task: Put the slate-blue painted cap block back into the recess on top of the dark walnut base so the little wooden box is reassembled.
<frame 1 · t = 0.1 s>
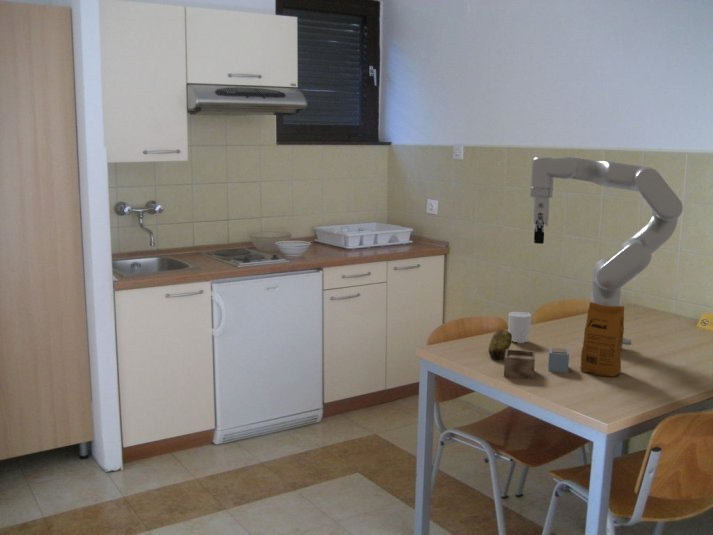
hand: (538, 241, 262), 37 cm above the table, tool pointing down, fingers open, 9 cm apart
coffee package: (600, 372, 236), on the table
white cup: (518, 341, 270), on the table
cap block: (557, 369, 238), on the table
potato: (499, 355, 252), on the table
box base: (519, 373, 233), on the table
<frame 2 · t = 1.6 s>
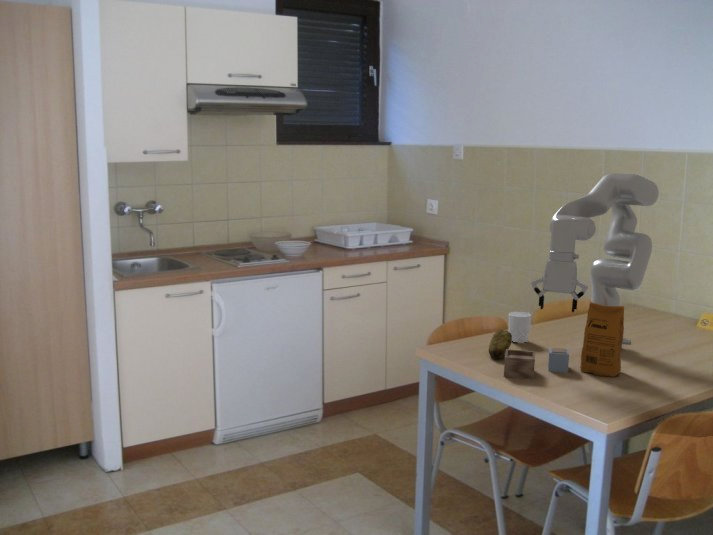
hand: (557, 310, 237), 19 cm above the table, tool pointing down, fingers open, 9 cm apart
nothing on the table moved.
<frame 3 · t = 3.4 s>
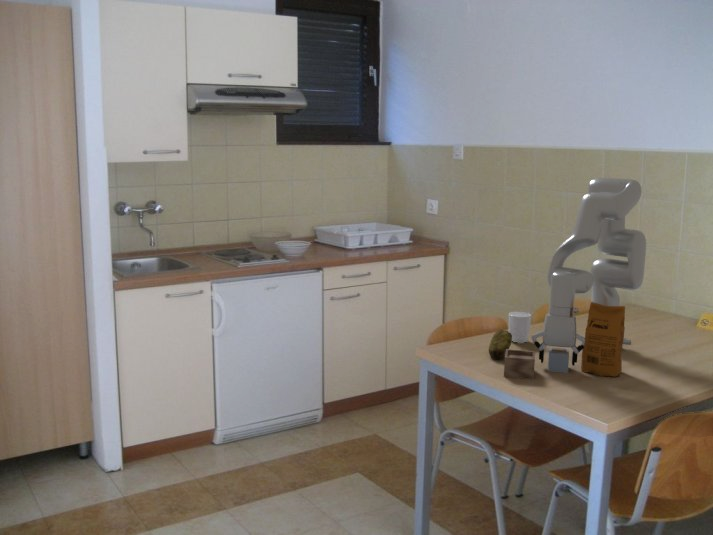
hand: (557, 363, 237), 2 cm above the table, tool pointing down, fingers open, 9 cm apart
coffee package: (600, 372, 236), on the table, touching gripper
everything else where it was.
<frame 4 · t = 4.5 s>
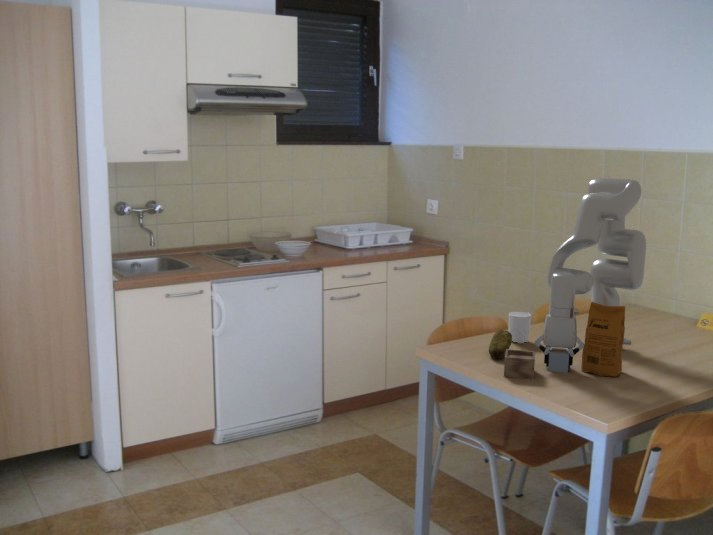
hand: (557, 366, 238), 1 cm above the table, tool pointing down, fingers closed on cap block, 6 cm apart
coffee package: (601, 372, 236), on the table
cap block: (557, 369, 238), on the table, touching gripper
everything else where it was.
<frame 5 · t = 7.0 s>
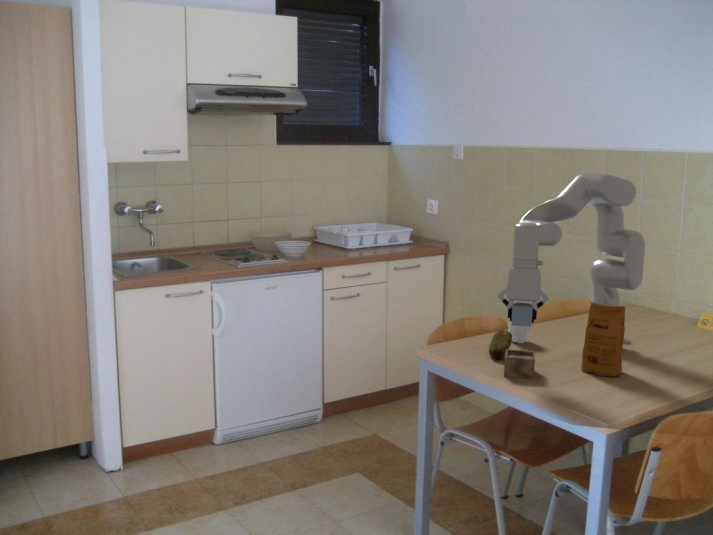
hand: (521, 320, 230), 17 cm above the table, tool pointing down, fingers closed on cap block, 6 cm apart
cap block: (521, 323, 230), point 16 cm above the table, touching gripper
everything else where it was.
when the fingers open (7 cm above the table, at t = 9.5 s): cap block drops 1 cm, resting on box base.
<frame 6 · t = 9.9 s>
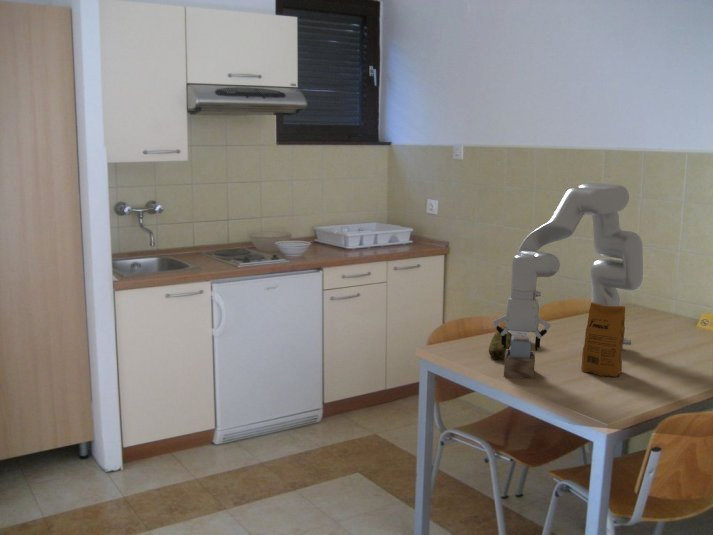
hand: (520, 348, 232), 8 cm above the table, tool pointing down, fingers open, 9 cm apart
cap block: (519, 357, 232), point 5 cm above the table, touching box base
everything else where it was.
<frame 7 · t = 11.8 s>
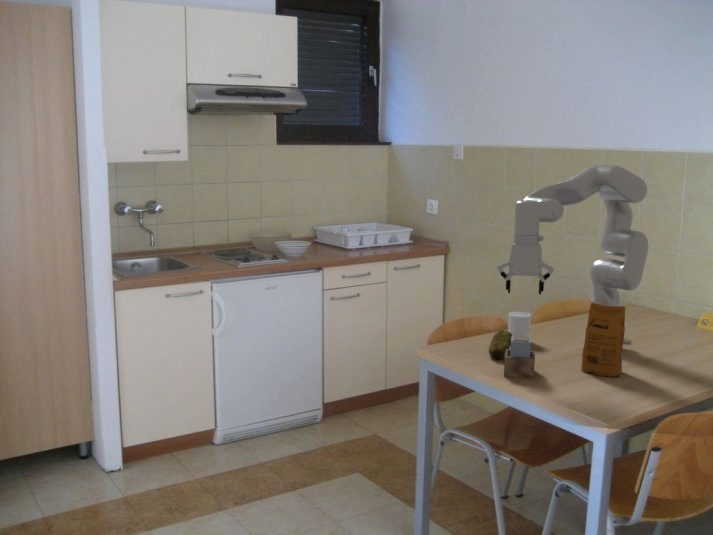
hand: (524, 292, 237), 24 cm above the table, tool pointing down, fingers open, 9 cm apart
nothing on the table moved.
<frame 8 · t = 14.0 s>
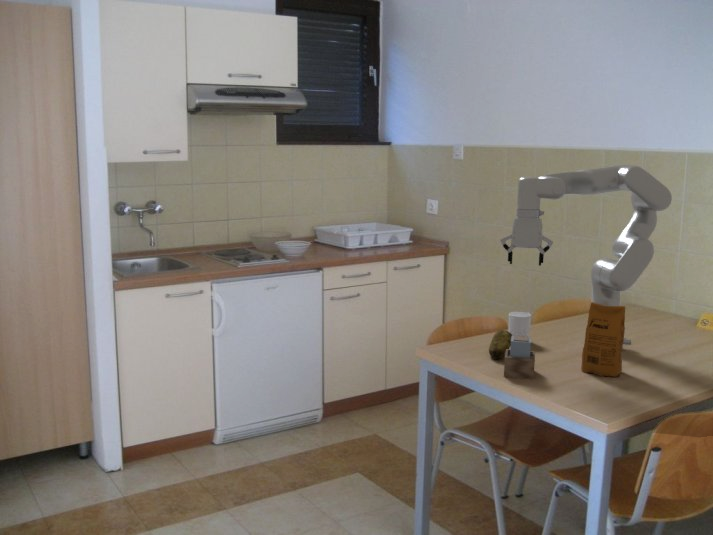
hand: (525, 264, 253), 30 cm above the table, tool pointing down, fingers open, 9 cm apart
nothing on the table moved.
at the end: cap block 0.0 cm off-centre on the box base, point 5.0 cm above the box base's base; cap block tilted 0°; the gripper is holding nothing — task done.
